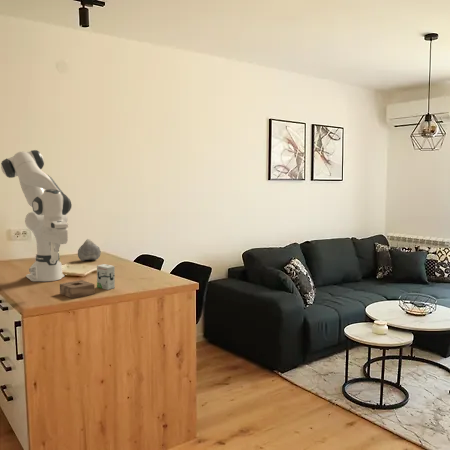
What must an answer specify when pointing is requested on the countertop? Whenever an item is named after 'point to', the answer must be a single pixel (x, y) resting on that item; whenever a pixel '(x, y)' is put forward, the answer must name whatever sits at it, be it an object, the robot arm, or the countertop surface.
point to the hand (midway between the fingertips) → (54, 251)
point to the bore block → (77, 289)
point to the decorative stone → (89, 251)
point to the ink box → (105, 276)
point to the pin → (53, 254)
